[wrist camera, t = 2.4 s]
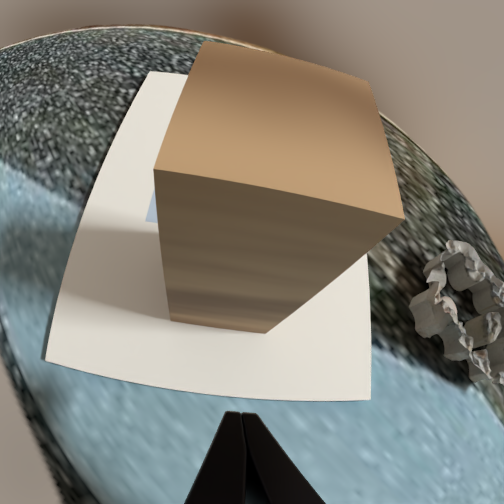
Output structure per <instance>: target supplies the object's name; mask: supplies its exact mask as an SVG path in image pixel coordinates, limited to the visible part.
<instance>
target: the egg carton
mask: <svg viewBox="0 0 504 504" xmlns="http://www.w3.org/2000/svg"><path fill="white" fill-rule="evenodd" d="M446 246H447V248H448V249H447V250H445V251H444V252H443V253H441V254H440V255H439V256H437V257H435V258H434V259H433V260H431V261H430V262H428V263H427V264H426V266H425V268H424V270H423V274H424V275H425V276H426V278H427V281H426V283H429V289H427V290H426V291H424V292H422V293H420V294H418V295H417V296H415V297H413V298H412V300H411V303H410V305H409V309H410V310H411V312H412V314H413V316H414V318H415V330H416V332H417V333H418V334H419V335H421V336H422V337H423V338H426V337H429V338H430V337H431V336H433V335H435V334H438V335H439V336H440V337H441V338H442V340H443V343H444V347H445V352H444V356H445V357H446V358H448V359H450V360H452V361H454V360H458V361H461V360H463V359H466V360H467V362H468V365H469V378H470V379H471V380H472V381H473V382H478V381H480V380H483V379H486V380H490V379H492V380H493V381H492V383H493V384H497V383H502V384H503V385H504V290H503V287H504V283H503V282H502V281H501V280H499V279H498V278H497V277H496V276H495V275H494V274H493V273H492V271H491V270H490V269H489V268H488V267H487V266H485V265H484V264H483V262H482V261H481V260H480V258H479V256H478V254H477V253H476V251H475V249H474V248H473V247H472V246H471V245H470V244H468V243H466V242H461V241H454V240H449V241H448V242H447V243H446ZM445 267H446V268H447V269H448V272H447V274H448V280H449V282H450V284H451V286H452V287H453V288H454V289H455V290H457V291H463V290H465V289H467V288H468V289H469V290H470V291H471V292H472V293H473V304H474V307H475V309H476V310H477V312H478V313H479V314H481V316H478V317H476V318H473V319H471V320H469V321H467V322H466V323H465V325H464V327H463V322H459V321H458V318H457V309H456V306H455V304H454V302H453V301H452V299H451V298H449V297H446V296H444V297H441V298H440V290H442V288H443V287H444V286H445V284H446V273H445V270H444V268H445ZM496 338H497V340H496ZM487 344H488V345H487ZM484 345H487V346H486V349H482V350H478V351H473V352H472V348H477V347H480V346H484ZM484 348H485V347H484Z"/></svg>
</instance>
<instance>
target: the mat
mask: <svg viewBox="0 0 504 504" xmlns="http://www.w3.org/2000/svg"><path fill="white" fill-rule="evenodd" d="M187 78H188V75H181V74H172V73H162V72H151V71H150V72H149V74H148V76H147V77H146V79H145V81H144V83H143V84H142V86H141V88H140V90H139V91H138V93H137V95H136V97H135V99H134V101H133V103H132V104H131V106H130V108H129V110H128V112H127V114H126V116H125V118H124V120H123V122H122V124H121V126H120V128H119V130H118V132H117V134H116V136H115V139H114V141H113V143H112V145H111V147H110V149H109V152H108V154H107V156H106V158H105V161H104V163H103V165H102V168H101V170H100V172H99V175H98V177H97V179H96V182H95V184H94V187H93V189H92V192H91V195H90V197H89V200H88V202H87V205H86V208H85V211H84V213H83V216H82V219H81V222H80V225H79V228H78V230H77V233H76V236H75V240H74V243H73V246H72V249H71V252H70V255H69V259H68V262H67V266H66V269H65V273H64V276H63V280H62V284H61V287H60V291H59V295H58V299H57V303H56V308H55V312H54V316H53V321H52V326H51V331H50V336H49V341H48V346H47V352H46V358H45V361H48V362H52V363H55V364H59V365H62V366H66V367H69V368H73V369H77V370H81V371H85V372H89V373H93V374H97V375H101V376H105V377H110V378H114V379H119V380H124V381H129V382H134V383H139V384H144V385H150V386H155V387H161V388H167V389H174V390H180V391H187V392H195V393H203V394H211V395H220V396H230V397H241V398H254V399H270V400H294V401H354V400H370V397H371V320H370V296H369V279H368V265H367V253H366V254H365V255H364V256H362V257H361V258H360V259H359V260H358V261H357V262H355V263H354V264H353V265H352V266H351V267H349V268H348V269H347V270H346V271H345V272H343V273H342V274H341V275H340V276H339V277H337V278H336V279H335V280H334V281H332V282H331V283H330V284H329V285H328V286H326V287H325V288H324V289H323V290H321V291H320V292H319V293H318V294H316V295H315V296H314V297H313V298H311V299H310V300H309V301H308V302H306V303H305V304H304V305H302V306H301V307H300V308H299V309H297V310H296V311H295V312H293V313H292V314H291V315H290V316H288V317H287V318H286V319H284V320H283V321H282V322H280V323H279V324H278V325H277V326H275V327H274V328H273V329H271V330H270V331H269V332H267V333H266V334H262V333H253V332H245V331H237V330H229V329H221V328H214V327H207V326H200V325H193V324H186V323H180V322H174V321H171V320H170V314H169V308H168V301H167V295H166V288H165V281H164V273H163V265H162V257H161V249H160V240H159V231H158V221H157V211H156V199H155V187H154V173H153V168H154V165H155V162H156V159H157V156H158V153H159V150H160V147H161V145H162V142H163V139H164V136H165V133H166V131H167V128H168V125H169V123H170V120H171V117H172V115H173V112H174V109H175V107H176V104H177V102H178V99H179V97H180V94H181V92H182V90H183V87H184V85H185V82H186V80H187Z"/></svg>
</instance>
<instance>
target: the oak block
mask: <svg viewBox="0 0 504 504" xmlns="http://www.w3.org/2000/svg"><path fill="white" fill-rule="evenodd" d="M153 173H154V187H155V199H156V211H157V221H158V231H159V240H160V249H161V257H162V265H163V273H164V281H165V288H166V295H167V301H168V308H169V314H170V320H171V321H174V322H180V323H186V324H193V325H200V326H207V327H214V328H221V329H229V330H237V331H245V332H253V333H262V334H266V333H267V332H269V331H270V330H271V329H273V328H274V327H275V326H277V325H278V324H279V323H280V322H282V321H283V320H284V319H286V318H287V317H288V316H290V315H291V314H292V313H293V312H295V311H296V310H297V309H299V308H300V307H301V306H302V305H304V304H305V303H306V302H308V301H309V300H310V299H311V298H313V297H314V296H315V295H316V294H318V293H319V292H320V291H321V290H323V289H324V288H325V287H326V286H328V285H329V284H330V283H331V282H332V281H334V280H335V279H336V278H337V277H339V276H340V275H341V274H342V273H343V272H345V271H346V270H347V269H348V268H349V267H351V266H352V265H353V264H354V263H355V262H357V261H358V260H359V259H360V258H361V257H362V256H364V255H365V254H366V253H367V252H368V251H369V250H371V249H372V248H373V247H374V246H375V245H376V244H377V243H379V242H380V241H381V240H382V239H383V238H384V237H385V236H387V235H388V234H389V233H390V232H391V231H392V230H393V229H394V228H396V227H397V226H398V225H399V224H400V223H401V222H402V221H403V220H404V219H405V218H404V213H403V207H402V202H401V198H400V193H399V188H398V184H397V179H396V175H395V171H394V166H393V162H392V158H391V154H390V151H389V147H388V143H387V139H386V136H385V132H384V129H383V125H382V122H381V119H380V115H379V112H378V109H377V106H376V103H375V99H374V96H373V94H372V90H371V87H370V85H369V82H367V81H365V80H362V79H359V78H356V77H354V76H351V75H348V74H345V73H342V72H339V71H336V70H333V69H329V68H326V67H323V66H319V65H316V64H313V63H309V62H306V61H302V60H298V59H294V58H291V57H287V56H282V55H278V54H274V53H270V52H265V51H260V50H256V49H251V48H245V47H240V46H234V45H229V44H222V43H216V42H209V41H204V42H203V44H202V46H201V48H200V50H199V53H198V55H197V57H196V59H195V61H194V64H193V66H192V68H191V71H190V73H189V75H188V78H187V80H186V82H185V85H184V87H183V90H182V92H181V94H180V97H179V99H178V102H177V104H176V107H175V109H174V112H173V115H172V117H171V120H170V123H169V125H168V128H167V131H166V133H165V136H164V139H163V142H162V145H161V147H160V150H159V153H158V156H157V159H156V162H155V165H154V168H153Z"/></svg>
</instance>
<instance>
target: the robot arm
mask: <svg viewBox="0 0 504 504" xmlns="http://www.w3.org/2000/svg"><path fill="white" fill-rule="evenodd" d="M184 504H326V503H325V502H324V501H323V500H322V498H321V497H320V496H319V495H318V494H317V492H316V491H315V490H314V489H313V487H312V486H311V485H310V484H309V482H308V481H307V480H306V479H305V477H304V476H303V475H302V474H301V472H300V471H299V470H298V468H297V467H296V466H295V465H294V463H293V462H292V461H291V459H290V458H289V457H288V455H287V454H286V453H285V451H284V450H283V449H282V447H281V446H280V445H279V443H278V442H277V441H276V439H275V438H274V437H273V435H272V434H271V432H270V431H269V430H268V428H267V427H266V425H265V424H264V423H263V421H262V420H261V418H260V417H259V416H258V415H257V414H256V413H247V412H243V413H240V412H235V411H226V412H225V413H224V416H223V418H222V420H221V423H220V425H219V427H218V429H217V432H216V434H215V436H214V439H213V441H212V443H211V445H210V448H209V450H208V452H207V454H206V457H205V459H204V461H203V463H202V466H201V468H200V470H199V472H198V474H197V477H196V479H195V481H194V483H193V485H192V488H191V490H190V492H189V494H188V496H187V498H186V500H185V503H184Z"/></svg>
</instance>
